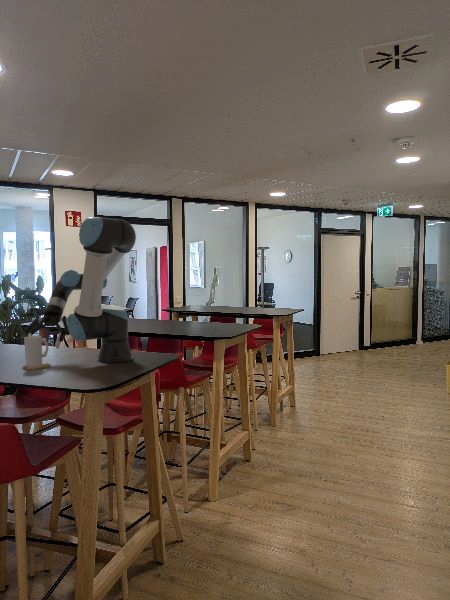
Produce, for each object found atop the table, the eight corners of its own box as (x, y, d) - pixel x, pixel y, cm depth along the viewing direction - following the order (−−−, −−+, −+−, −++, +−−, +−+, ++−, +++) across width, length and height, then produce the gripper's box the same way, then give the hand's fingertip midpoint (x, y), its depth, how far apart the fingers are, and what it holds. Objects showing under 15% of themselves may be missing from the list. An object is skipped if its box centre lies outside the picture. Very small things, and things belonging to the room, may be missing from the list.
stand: (56, 366, 197) (55, 364, 197) (32, 371, 188) (32, 368, 188) (40, 363, 203) (40, 361, 203) (17, 368, 194) (17, 365, 194)
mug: (30, 367, 190) (28, 338, 189) (22, 365, 194) (21, 337, 193) (52, 363, 197) (51, 335, 196) (45, 361, 202) (44, 334, 201)
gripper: (83, 314, 216) (72, 352, 202) (32, 314, 218) (16, 351, 204) (79, 303, 210) (66, 342, 196) (26, 303, 212) (10, 341, 198)
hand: (41, 347), depth 200 cm, fingers open, 13 cm apart
